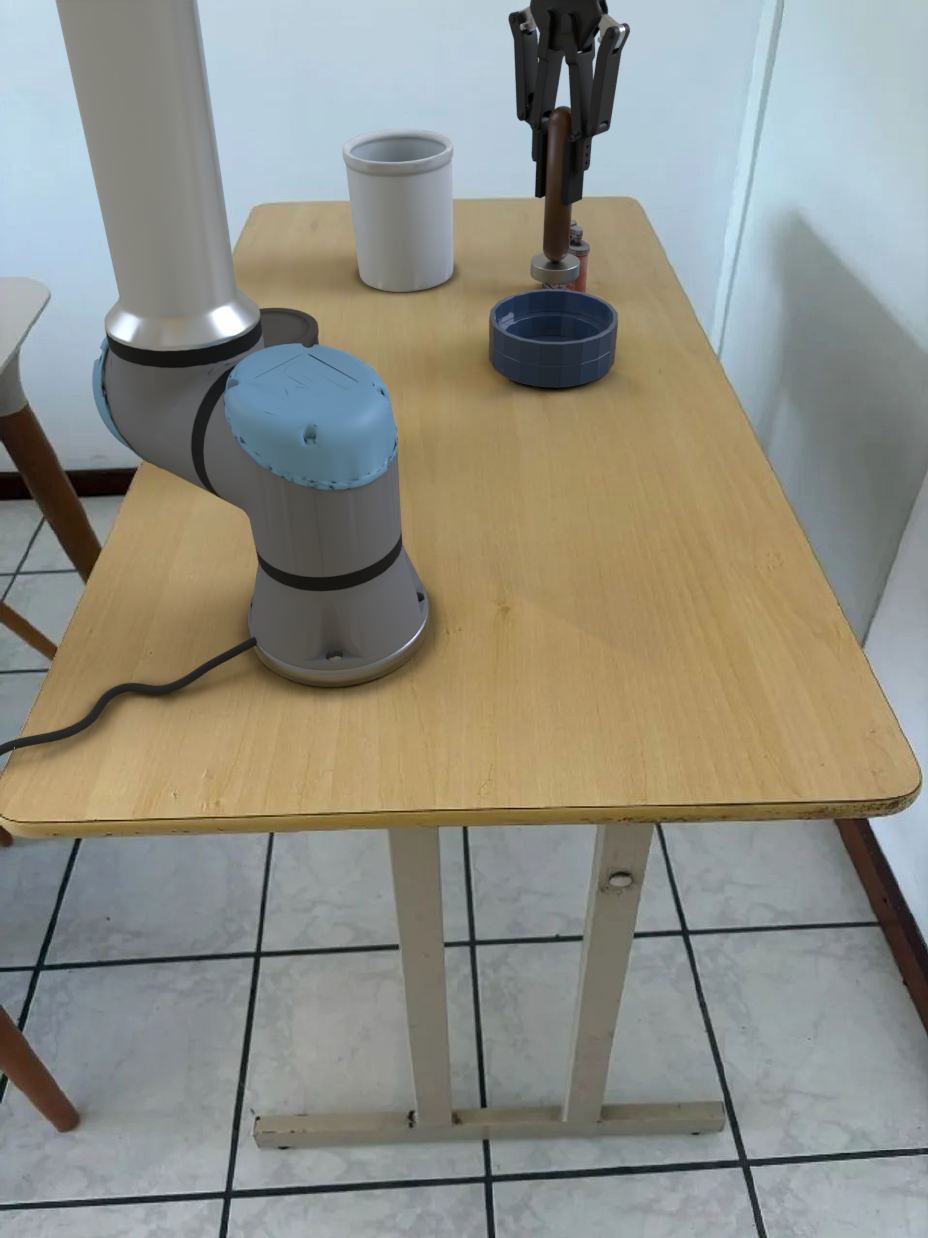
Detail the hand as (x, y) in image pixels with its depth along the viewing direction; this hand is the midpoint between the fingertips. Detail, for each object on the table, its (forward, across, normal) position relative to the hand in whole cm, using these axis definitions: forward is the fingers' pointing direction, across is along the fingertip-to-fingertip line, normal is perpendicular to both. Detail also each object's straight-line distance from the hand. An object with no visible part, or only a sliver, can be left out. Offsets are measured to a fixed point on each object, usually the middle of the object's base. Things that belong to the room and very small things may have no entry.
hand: (558, 197), depth 105 cm
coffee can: (+20, +9, +35) cm, 41 cm away
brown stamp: (+9, 0, 0) cm, 9 cm away
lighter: (+20, +11, -17) cm, 28 cm away
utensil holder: (+20, +33, -8) cm, 39 cm away
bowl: (+20, 0, 0) cm, 20 cm away
